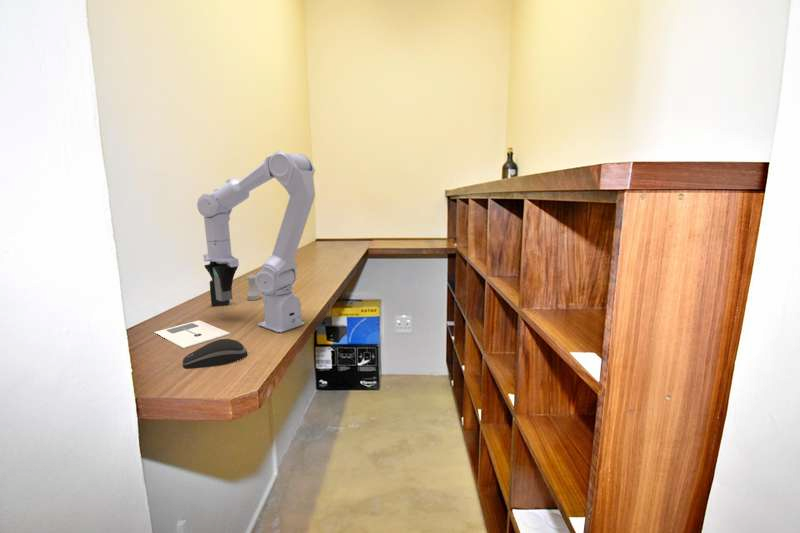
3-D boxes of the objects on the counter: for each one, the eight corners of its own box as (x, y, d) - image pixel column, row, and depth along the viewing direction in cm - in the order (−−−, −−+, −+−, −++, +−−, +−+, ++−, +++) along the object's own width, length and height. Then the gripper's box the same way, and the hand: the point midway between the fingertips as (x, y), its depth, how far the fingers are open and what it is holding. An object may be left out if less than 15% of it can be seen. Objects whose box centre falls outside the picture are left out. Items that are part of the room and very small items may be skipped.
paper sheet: (230, 334, 94) (230, 332, 94) (183, 348, 85) (183, 347, 85) (199, 321, 103) (198, 319, 103) (154, 333, 95) (153, 331, 95)
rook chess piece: (256, 301, 122) (254, 276, 121) (243, 300, 123) (241, 276, 122) (263, 297, 126) (262, 273, 125) (251, 296, 127) (249, 273, 126)
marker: (232, 298, 104) (229, 266, 103) (221, 301, 102) (218, 268, 100) (226, 297, 106) (223, 265, 104) (216, 299, 104) (212, 267, 102)
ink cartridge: (230, 303, 120) (228, 278, 118) (229, 305, 118) (227, 280, 116) (212, 304, 119) (210, 279, 117) (211, 306, 116) (209, 281, 115)
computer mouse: (184, 359, 80) (181, 342, 80) (246, 349, 86) (244, 332, 85) (181, 373, 74) (179, 354, 73) (249, 361, 79) (247, 343, 79)
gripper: (190, 239, 102) (195, 288, 105) (217, 244, 93) (223, 297, 96) (215, 237, 108) (220, 283, 110) (244, 241, 99) (248, 291, 102)
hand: (223, 289), depth 104 cm, fingers closed on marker, 3 cm apart
